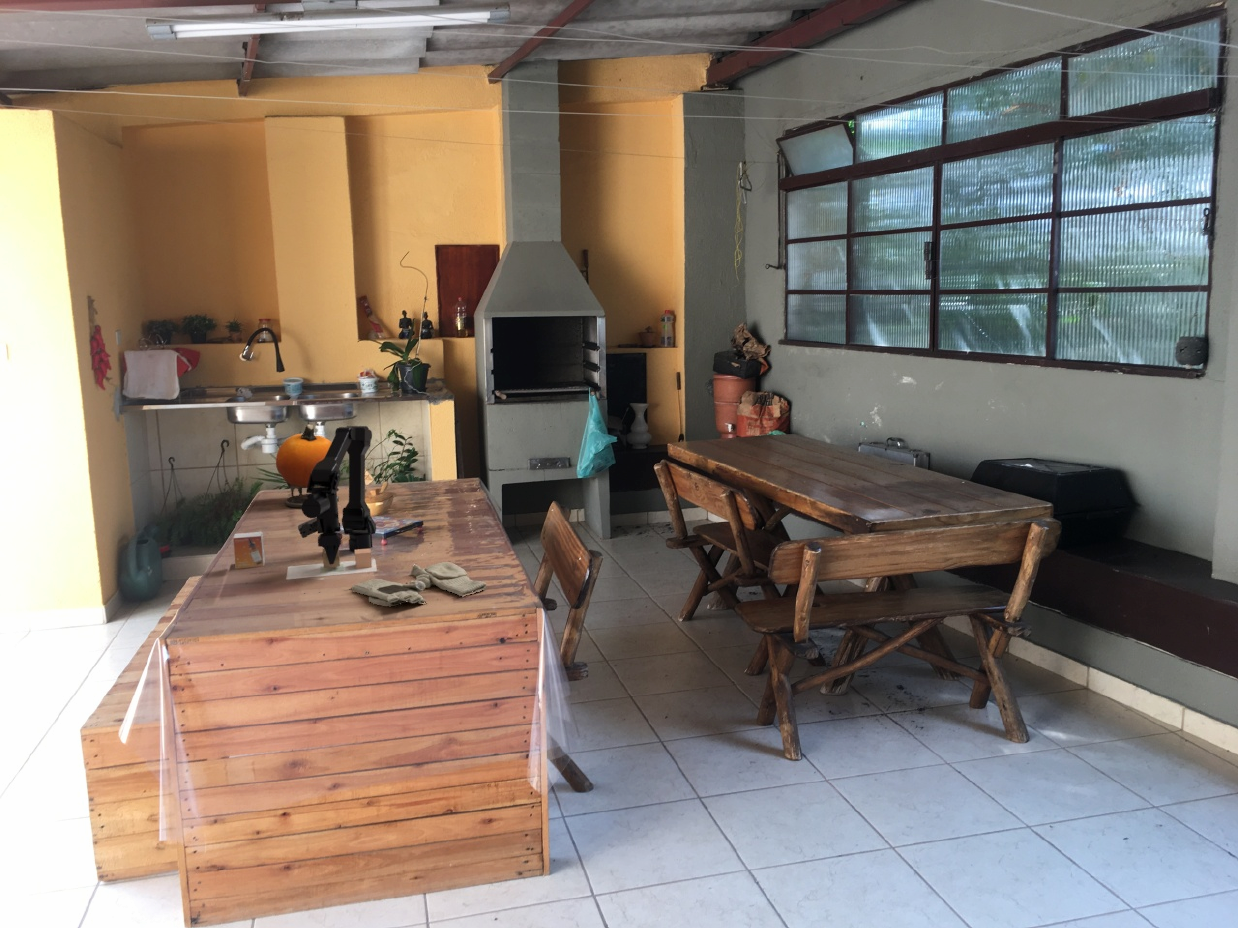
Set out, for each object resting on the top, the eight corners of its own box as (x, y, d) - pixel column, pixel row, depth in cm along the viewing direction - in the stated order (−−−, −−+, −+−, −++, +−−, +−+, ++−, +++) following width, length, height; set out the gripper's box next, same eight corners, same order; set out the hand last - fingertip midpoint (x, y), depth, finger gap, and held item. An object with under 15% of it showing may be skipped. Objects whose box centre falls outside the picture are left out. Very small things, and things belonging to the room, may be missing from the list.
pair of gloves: (388, 616, 263) (387, 596, 262) (349, 591, 283) (348, 573, 282) (491, 592, 281) (490, 574, 280) (448, 571, 301) (447, 553, 300)
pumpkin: (274, 500, 393) (268, 423, 388) (333, 493, 404) (328, 417, 398) (285, 512, 374) (278, 431, 368) (347, 504, 385) (341, 425, 379)
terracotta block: (355, 564, 303) (354, 549, 302) (371, 563, 304) (370, 548, 304) (356, 568, 299) (354, 553, 298) (371, 567, 300) (370, 552, 299)
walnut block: (323, 563, 301) (322, 548, 300) (339, 561, 302) (338, 547, 301) (323, 567, 297) (322, 552, 296) (339, 566, 298) (338, 551, 297)
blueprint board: (375, 562, 309) (375, 558, 309) (377, 575, 297) (376, 570, 296) (288, 570, 303) (288, 565, 302) (286, 583, 290) (286, 578, 290)
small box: (235, 572, 302) (232, 538, 299) (237, 567, 307) (234, 533, 305) (264, 570, 304) (261, 535, 302) (265, 564, 309) (262, 530, 307)
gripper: (299, 504, 303) (303, 555, 306) (297, 519, 285) (301, 573, 288) (338, 501, 306) (342, 552, 309) (338, 516, 288) (342, 569, 291)
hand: (331, 561), depth 299 cm, fingers open, 5 cm apart
